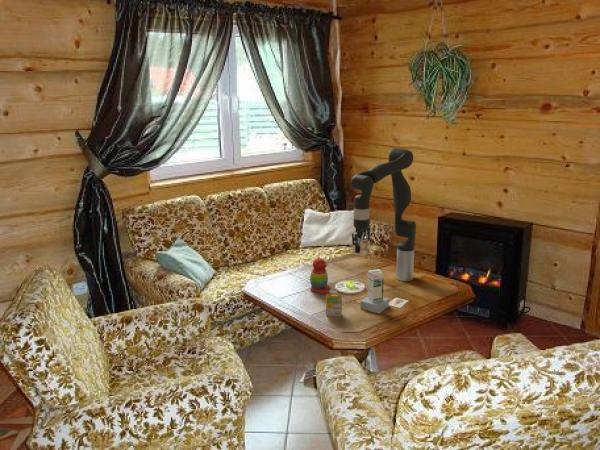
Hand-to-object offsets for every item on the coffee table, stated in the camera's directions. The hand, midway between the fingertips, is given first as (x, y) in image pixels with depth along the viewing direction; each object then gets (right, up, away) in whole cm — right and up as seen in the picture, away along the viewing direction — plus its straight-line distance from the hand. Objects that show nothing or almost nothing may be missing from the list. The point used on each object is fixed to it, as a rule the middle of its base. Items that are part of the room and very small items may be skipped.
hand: (361, 250), depth 242 cm
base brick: (+7, -28, +3) cm, 29 cm away
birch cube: (0, -1, 0) cm, 1 cm away
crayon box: (-13, -30, -4) cm, 33 cm away
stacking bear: (-19, -22, +24) cm, 38 cm away
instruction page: (+19, -26, +7) cm, 33 cm away
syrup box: (+7, -24, +2) cm, 25 cm away
